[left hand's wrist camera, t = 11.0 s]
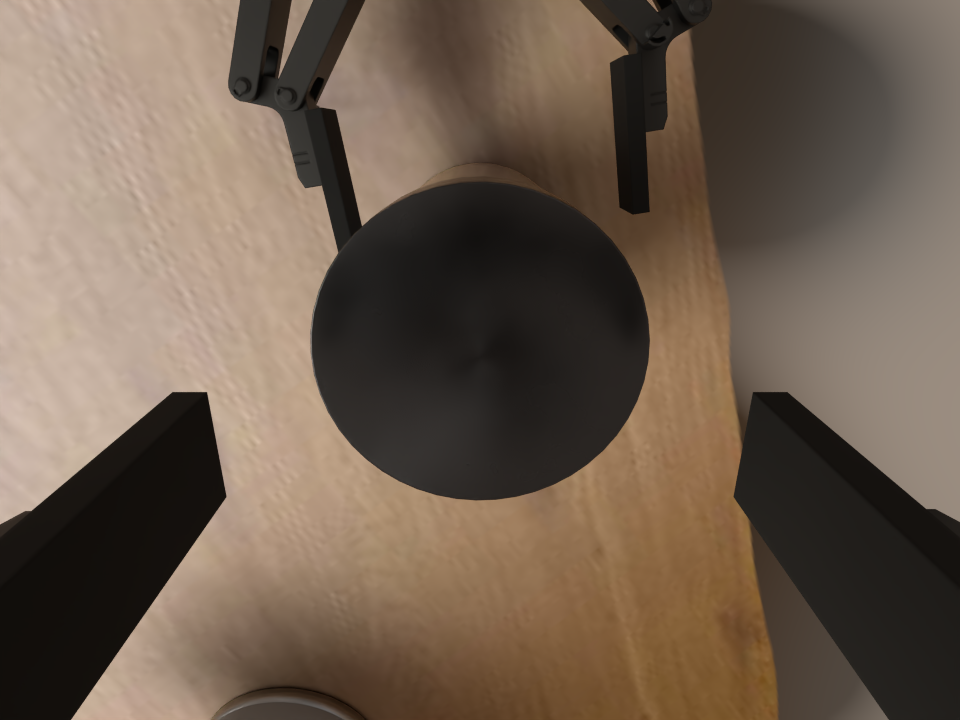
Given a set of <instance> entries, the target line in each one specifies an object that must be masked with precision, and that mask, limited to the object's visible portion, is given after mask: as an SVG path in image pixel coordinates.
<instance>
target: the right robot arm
mask: <svg viewBox="0 0 960 720" xmlns="http://www.w3.org/2000/svg"><path fill="white" fill-rule="evenodd" d="M291 1H292V0H240V5H239V12H238V19H237V26H236V33H235V40H234V46H233V53H232V60H231V67H230V74H229V80H228V86H229V90H230V92H231V94H232V95H233V96H234V98H236V99H237V100H239V101H243V102H248V103H253V104H258V105H263V106H267V107H270V108H273V109H274V110H276V111H277V112H278V113H279V114H280V115H281V117H282V119H283V121H284V124H285V128H286V132H287V136H288V140H289V144H290V148H291V152H292V154H293V159H294V163H295V167H296V171H297V175H298V178H299V180H300V181H301V182H302V184H303V185H304V187H305V188H309V187H315V186H321V185H322V187H323V191H324V195H325V199H326V203H327V208H328V212H329V216H330V220H331V224H332V228H333V232H334V236H335V240H336V244H337V249H338V253H339V251H340V250H341V249H342V248H343V247H344V245H345V244H346V243H347V242H348V241H349V239H350V238H351V237H352V236H353V235H354V234H355V233H356V232H357V231H358V230H359V229H360V228H361V227H362V225H361V220H360V216H359V211H358V207H357V203H356V198H355V194H354V189H353V185H352V180H351V176H350V172H349V167H348V163H347V158H346V154H345V149H344V145H343V141H342V136H341V132H340V127H339V123H338V118H337V114H336V110H332V109H326V108H319V106H317V105H316V104H317V102H318V100H319V98H320V96H321V94H322V91H323V89H324V87H325V85H326V83H327V81H328V79H329V76H330V74H331V72H332V70H333V68H334V66H335V64H336V62H337V59H338V57H339V55H340V53H341V51H342V49H343V47H344V44H345V42H346V40H347V38H348V36H349V34H350V32H351V29H352V27H353V25H354V23H355V21H356V19H357V17H358V14H359V12H360V10H361V8H362V6H363V4H364V2H365V0H313V2H312V5H311V7H310V9H309V11H308V14H307V16H306V18H305V20H304V23H303V25H302V27H301V30H300V32H299V34H298V36H297V39H296V41H295V43H294V46H293V48H292V50H291V52H290V55H289V57H288V59H287V61H286V64H285V66H284V68H283V71H282V73H281V75H280V77H279V79H278V76H279V70H280V64H281V58H282V53H283V47H284V41H285V36H286V30H287V24H288V18H289V13H290V7H291ZM580 1H581V2H582V3H583V4H584V5H585V6H586V7H587V9H588V10H589V11H590V12H591V13H592V14H593V15H594V16H595V17H596V18H597V19H598V20H599V21H600V22H601V23H602V24H603V25H604V27H605V28H606V29H607V30H608V31H609V32H610V33H611V34H612V35H613V36H614V37H615V38H616V39H617V40H618V41H619V42H620V43H621V44H622V46H623V47H624V48H625V49H626V50H627V51H628V54H629V55H624V56H622V57H620V58H618V59H616V60H615V61H613V62H611V63H610V71H611V86H612V101H613V116H614V131H615V146H616V161H617V176H618V191H619V206H620V208H622V209H623V210H625V211H627V212H629V213H631V214H639V213H646V212H650V211H649V191H648V170H647V150H646V132H650V131H656V130H662V129H664V126H665V123H666V120H667V93H666V91H667V88H666V60H665V57H666V50H667V47H668V45H669V44H670V42H671V41H672V40H673V39H674V38H675V37H676V36H678V35H680V34H681V33H683V32H685V31H686V30H688V29H690V28H692V27H693V26H695V25H697V24H698V23H700V22H702V21H704V20H705V19H706V18H707V17H708V16H709V13H710V11H711V8H712V1H711V0H653V2H654V4H655V6H656V8H657V10H658V12H657V11H656V10H655V9H654V8H653V7H652V6H651V5H650V3H649V2H648V1H647V0H580Z"/></svg>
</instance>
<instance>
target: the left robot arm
mask: <svg viewBox="0 0 960 720" xmlns="http://www.w3.org/2000/svg"><path fill="white" fill-rule="evenodd" d="M225 498H226V492H225V486H224V481H223V476H222V470H221V465H220V460H219V454H218V449H217V443H216V438H215V433H214V427H213V422H212V417H211V411H210V406H209V400H208V395H207V392H172V393H171V394H170V395H169V396H168V397H166V398H165V399H164V400H163V401H162V402H160V403H159V404H158V405H157V406H156V407H155V408H153V409H152V410H151V411H150V412H149V413H147V414H146V415H145V416H144V417H143V418H141V419H140V420H139V421H138V422H137V423H135V424H134V425H133V426H132V427H131V428H130V429H128V430H127V431H126V432H125V433H124V434H122V435H121V436H120V437H119V438H118V439H116V440H115V441H114V442H113V443H112V444H111V445H109V446H108V447H107V448H106V449H105V450H103V451H102V452H101V453H100V454H99V455H97V456H96V457H95V458H94V459H93V460H92V461H90V462H89V463H88V464H87V465H86V466H84V467H83V468H82V469H81V470H80V471H78V472H77V473H76V474H75V475H74V476H73V477H71V478H70V479H69V480H68V481H67V482H65V483H64V484H63V485H62V486H61V487H59V488H58V489H57V490H56V491H55V492H54V493H52V494H51V495H50V496H49V497H48V498H46V499H45V500H44V501H43V502H42V503H40V504H39V505H38V506H37V507H36V508H35V509H33V510H32V511H25V512H23V513H21V514H19V515H17V516H15V517H13V518H12V519H10V520H8V521H6V522H4V523H2V524H0V720H71V719H72V718H73V716H74V715H75V713H76V712H77V710H78V709H79V708H80V706H81V705H82V703H83V702H84V700H85V699H86V697H87V696H88V695H89V693H90V692H91V690H92V689H93V687H94V686H95V685H96V683H97V682H98V680H99V679H100V677H101V676H102V675H103V673H104V672H105V670H106V669H107V667H108V666H109V665H110V663H111V662H112V660H113V659H114V657H115V656H116V654H117V653H118V652H119V650H120V649H121V647H122V646H123V644H124V643H125V642H126V640H127V639H128V637H129V636H130V634H131V633H132V632H133V630H134V629H135V627H136V626H137V624H138V623H139V622H140V620H141V619H142V617H143V616H144V614H145V613H146V611H147V610H148V609H149V607H150V606H151V604H152V603H153V601H154V600H155V599H156V597H157V596H158V594H159V593H160V591H161V590H162V589H163V587H164V586H165V584H166V583H167V581H168V580H169V579H170V577H171V576H172V574H173V573H174V571H175V570H176V568H177V567H178V566H179V564H180V563H181V561H182V560H183V558H184V557H185V556H186V554H187V553H188V551H189V550H190V548H191V547H192V546H193V544H194V543H195V541H196V540H197V538H198V537H199V536H200V534H201V533H202V531H203V530H204V528H205V527H206V525H207V524H208V523H209V521H210V520H211V518H212V517H213V515H214V514H215V513H216V511H217V510H218V508H219V507H220V505H221V504H222V503H223V501H224V500H225ZM734 498H735V500H736V501H737V503H738V504H739V505H740V507H741V508H742V510H743V511H744V513H745V514H746V515H747V517H748V518H749V520H750V521H751V523H752V524H753V525H754V527H755V528H756V530H757V531H758V533H759V534H760V535H761V537H762V538H763V540H764V541H765V543H766V544H767V546H768V547H769V548H770V550H771V551H772V553H773V554H774V556H775V557H776V558H777V560H778V561H779V563H780V564H781V566H782V567H783V568H784V570H785V571H786V573H787V574H788V576H789V577H790V579H791V580H792V581H793V583H794V584H795V586H796V587H797V589H798V590H799V591H800V593H801V594H802V596H803V597H804V599H805V600H806V601H807V603H808V604H809V606H810V607H811V609H812V610H813V611H814V613H815V614H816V616H817V617H818V619H819V620H820V621H821V623H822V624H823V626H824V627H825V629H826V630H827V632H828V633H829V634H830V636H831V637H832V639H833V640H834V642H835V643H836V644H837V646H838V647H839V649H840V650H841V652H842V653H843V654H844V656H845V657H846V659H847V660H848V661H849V663H850V665H851V666H852V667H853V669H854V670H855V672H856V673H857V675H858V676H859V677H860V679H861V680H862V682H863V683H864V685H865V686H866V687H867V689H868V690H869V692H870V693H871V695H872V696H873V697H874V699H875V700H876V702H877V703H878V705H879V706H880V708H881V709H882V710H883V712H884V713H885V715H886V716H887V718H888V719H889V720H960V522H958V521H957V520H955V519H953V518H951V517H949V516H947V515H945V514H943V513H942V512H940V511H938V510H936V509H925V508H924V507H923V506H922V505H921V504H920V503H918V502H917V501H916V500H915V499H914V498H912V497H911V496H910V495H909V494H908V493H906V492H905V491H904V490H903V489H902V488H900V487H899V486H898V485H897V484H896V483H895V482H893V481H892V480H891V479H890V478H889V477H887V476H886V475H885V474H884V473H883V472H881V471H880V470H879V469H878V468H877V467H876V466H874V465H873V464H872V463H871V462H870V461H868V460H867V459H866V458H865V457H864V456H862V455H861V454H860V453H859V452H858V451H857V450H855V449H854V448H853V447H852V446H851V445H849V444H848V443H847V442H846V441H845V440H843V439H842V438H841V437H840V436H839V435H838V434H836V433H835V432H834V431H833V430H832V429H830V428H829V427H828V426H827V425H826V424H824V423H823V422H822V421H821V420H820V419H819V418H817V417H816V416H815V415H814V414H812V413H811V412H810V411H809V410H808V409H807V408H805V407H804V406H803V405H802V404H801V403H800V402H798V401H797V400H796V399H795V398H794V397H792V396H791V395H790V394H789V393H788V392H753V395H752V400H751V406H750V411H749V417H748V422H747V427H746V433H745V438H744V443H743V449H742V454H741V459H740V465H739V470H738V476H737V481H736V486H735V492H734ZM211 720H365V719H364V718H363V717H362V716H361V715H360V714H359V713H357V712H356V711H355V710H353V709H352V708H351V707H349V706H347V705H346V704H344V703H342V702H340V701H338V700H336V699H334V698H331V697H329V696H326V695H323V694H320V693H316V692H312V691H307V690H302V689H293V688H273V689H264V690H259V691H255V692H251V693H248V694H245V695H242V696H240V697H238V698H236V699H233V700H232V701H230V702H229V703H227V704H226V705H224V706H223V707H222V708H221V709H220V710H219V711H218V712H216V714H215V715H214V716H213V717H212V719H211Z"/></svg>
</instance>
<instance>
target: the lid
mask: <svg viewBox="0 0 960 720" xmlns="http://www.w3.org/2000/svg"><path fill="white" fill-rule="evenodd" d="M310 334H311V358H312V364H313V371H314V376H315V379H316V382H317V386H318V389H319V392H320V395H321V397H322V399H323V402H324V404H325V406H326V408H327V411H328V413H329V414H330V416H331V417H332V419H333V421H334V422H335V424H336V426H337V427H338V429H339V430H340V431H341V433H342V434H343V435H344V436H345V438H346V439H347V440H348V441H349V443H350V444H351V445H352V446H353V447H354V448H355V449H356V450H357V451H358V452H359V453H360V454H361V455H362V456H363V457H364V458H366V459H367V460H368V461H369V462H371V463H372V464H373V465H375V466H376V467H377V468H379V469H380V470H381V471H383V472H384V473H386V474H388V475H390V476H391V477H393V478H395V479H396V480H398V481H400V482H402V483H405V484H407V485H409V486H412V487H414V488H416V489H419V490H422V491H425V492H428V493H432V494H435V495H439V496H444V497H450V498H455V499H466V500H497V499H504V498H511V497H517V496H521V495H524V494H528V493H532V492H536V491H538V490H541V489H543V488H546V487H549V486H551V485H554V484H556V483H558V482H559V481H561V480H563V479H565V478H567V477H569V476H571V475H572V474H574V473H575V472H577V471H578V470H580V469H581V468H583V467H584V466H586V465H587V464H588V463H590V462H591V461H592V460H593V459H594V458H595V457H596V456H598V455H599V454H600V453H601V452H602V451H603V450H604V449H605V448H606V447H607V446H608V445H609V443H610V442H611V441H612V440H613V439H614V438H615V437H616V436H617V434H618V433H619V431H620V430H621V428H622V427H623V425H624V424H625V423H626V421H627V420H628V418H629V416H630V414H631V412H632V410H633V408H634V406H635V404H636V402H637V400H638V397H639V394H640V392H641V389H642V386H643V383H644V380H645V375H646V370H647V365H648V359H649V344H650V337H649V323H648V316H647V311H646V307H645V302H644V298H643V295H642V293H641V290H640V287H639V285H638V282H637V279H636V277H635V275H634V273H633V272H632V270H631V268H630V266H629V264H628V262H627V261H626V259H625V257H624V256H623V255H622V253H621V252H620V251H619V249H618V248H617V247H616V245H615V244H614V243H613V241H612V240H611V239H610V238H609V237H608V236H607V235H606V234H605V233H604V232H603V231H602V230H601V229H600V228H599V227H598V226H597V225H596V224H595V223H594V222H592V221H591V220H590V219H589V218H587V217H586V216H585V215H583V214H582V213H581V212H579V211H578V210H577V209H575V208H574V207H573V206H572V205H570V204H569V203H568V202H566V201H564V200H563V199H561V198H559V197H557V196H555V195H554V194H552V193H550V192H548V191H546V190H543V189H541V188H538V187H536V186H533V185H530V184H528V183H524V182H520V181H515V180H511V179H507V178H498V177H487V176H477V177H460V178H455V179H449V180H444V181H439V182H436V183H433V184H430V185H427V186H424V187H421V188H419V189H417V190H415V191H412V192H410V193H408V194H406V195H404V196H402V197H400V198H399V199H397V200H396V201H394V202H393V203H391V204H390V205H389V206H387V207H386V208H384V209H383V210H381V211H380V212H379V213H378V214H376V215H375V216H374V217H372V218H371V219H370V220H369V221H368V222H367V223H366V224H364V225H363V226H362V227H361V228H360V229H359V230H358V231H357V232H356V233H355V234H354V235H353V236H352V237H351V238H350V239H349V241H348V242H347V243H346V244H345V245H344V247H343V248H342V249H341V250H340V251H339V253H338V255H337V256H336V258H335V259H334V261H333V263H332V264H331V266H330V268H329V269H328V271H327V273H326V275H325V278H324V280H323V282H322V285H321V287H320V289H319V292H318V296H317V299H316V303H315V307H314V310H313V317H312V325H311V333H310Z"/></svg>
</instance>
